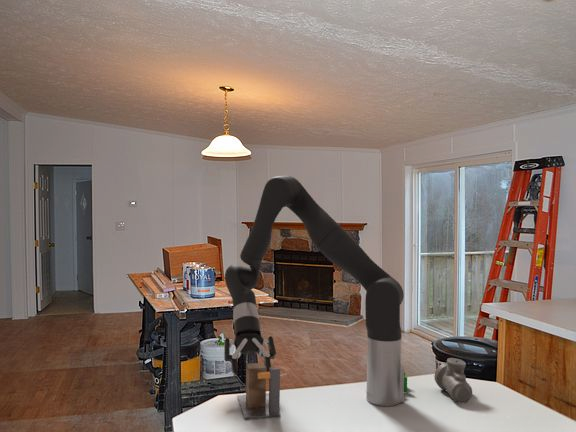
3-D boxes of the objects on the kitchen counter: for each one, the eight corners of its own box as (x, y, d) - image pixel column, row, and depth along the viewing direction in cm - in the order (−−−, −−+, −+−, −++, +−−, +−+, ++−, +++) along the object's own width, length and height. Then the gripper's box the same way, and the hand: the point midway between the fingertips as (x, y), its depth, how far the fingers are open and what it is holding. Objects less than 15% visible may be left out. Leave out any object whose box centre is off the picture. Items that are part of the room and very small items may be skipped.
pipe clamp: (408, 397, 140) (408, 381, 140) (394, 396, 140) (395, 380, 140) (403, 383, 151) (403, 368, 151) (390, 382, 151) (391, 367, 151)
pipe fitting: (431, 386, 147) (436, 353, 146) (459, 388, 147) (463, 355, 146) (445, 406, 135) (450, 370, 134) (474, 409, 135) (480, 373, 134)
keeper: (269, 395, 139) (269, 352, 139) (280, 416, 125) (281, 368, 125) (237, 397, 137) (237, 354, 137) (244, 419, 123) (245, 371, 123)
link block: (262, 399, 134) (262, 362, 134) (265, 406, 130) (266, 367, 130) (245, 401, 133) (246, 363, 133) (248, 407, 129) (249, 368, 129)
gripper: (223, 315, 143) (227, 367, 132) (272, 314, 146) (279, 364, 135) (221, 329, 148) (224, 381, 137) (268, 327, 151) (275, 378, 140)
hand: (252, 372), depth 136 cm, fingers open, 8 cm apart
